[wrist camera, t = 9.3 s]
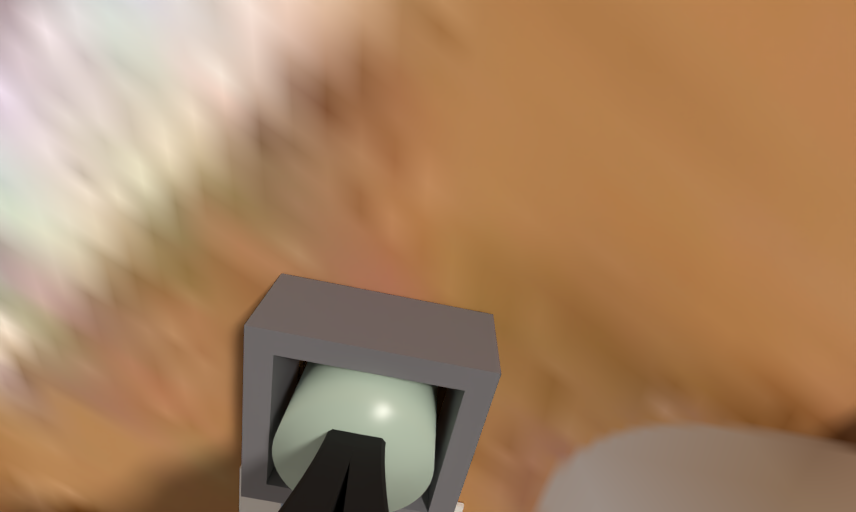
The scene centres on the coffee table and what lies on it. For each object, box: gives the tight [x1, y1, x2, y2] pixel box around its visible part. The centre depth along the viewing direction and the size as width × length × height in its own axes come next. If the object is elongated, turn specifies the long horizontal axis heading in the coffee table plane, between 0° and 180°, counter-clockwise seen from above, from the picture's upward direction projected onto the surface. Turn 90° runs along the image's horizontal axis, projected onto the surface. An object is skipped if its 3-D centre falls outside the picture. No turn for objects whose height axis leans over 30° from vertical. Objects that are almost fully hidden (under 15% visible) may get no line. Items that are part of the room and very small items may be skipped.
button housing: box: [241, 273, 501, 512], centre depth 13 cm, size 6×6×2 cm
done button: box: [272, 362, 438, 512], centre depth 13 cm, size 4×4×3 cm
